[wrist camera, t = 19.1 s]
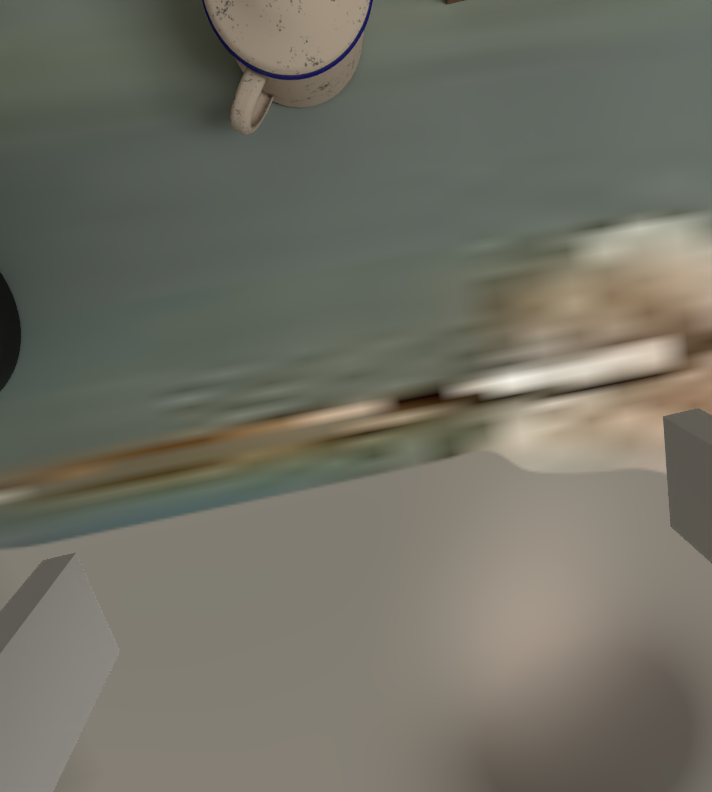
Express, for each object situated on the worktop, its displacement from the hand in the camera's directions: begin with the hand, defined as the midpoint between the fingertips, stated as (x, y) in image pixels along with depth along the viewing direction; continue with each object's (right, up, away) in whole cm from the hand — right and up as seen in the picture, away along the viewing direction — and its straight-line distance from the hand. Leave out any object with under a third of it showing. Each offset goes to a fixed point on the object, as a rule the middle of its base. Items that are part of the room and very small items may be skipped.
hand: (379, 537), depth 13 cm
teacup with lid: (-5, +26, +26) cm, 37 cm away
